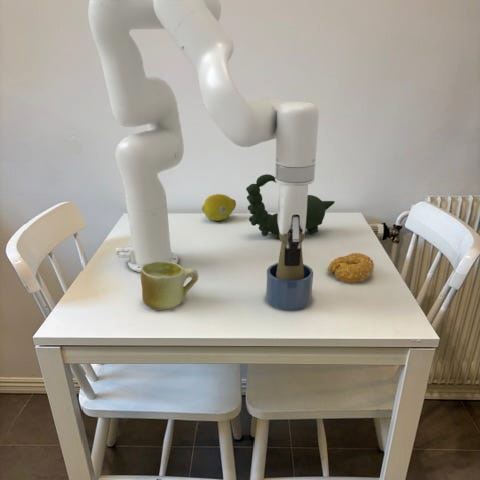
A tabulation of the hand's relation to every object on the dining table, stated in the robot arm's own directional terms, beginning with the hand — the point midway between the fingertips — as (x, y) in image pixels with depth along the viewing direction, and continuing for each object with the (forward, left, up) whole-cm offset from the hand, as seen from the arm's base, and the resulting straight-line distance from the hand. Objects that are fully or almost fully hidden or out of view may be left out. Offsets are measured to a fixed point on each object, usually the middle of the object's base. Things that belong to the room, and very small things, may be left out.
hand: (290, 259), depth 102 cm
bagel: (+16, +12, -10) cm, 22 cm away
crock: (0, 0, -10) cm, 10 cm away
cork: (0, 0, -4) cm, 4 cm away
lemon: (-17, +52, -10) cm, 56 cm away
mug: (-26, 0, -10) cm, 28 cm away
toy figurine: (+4, +39, -10) cm, 40 cm away
